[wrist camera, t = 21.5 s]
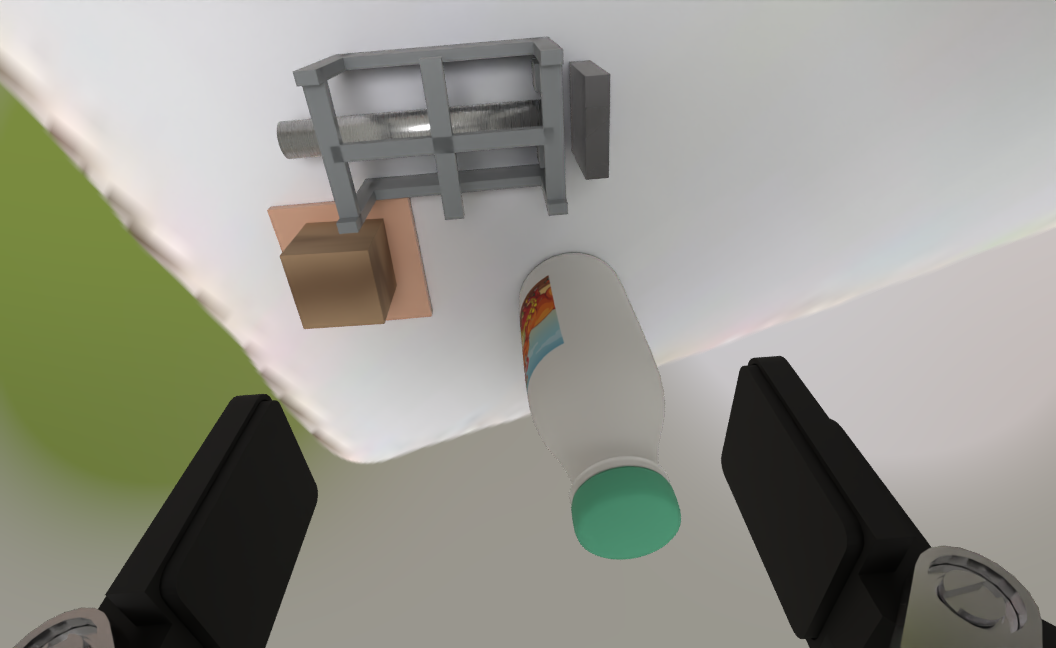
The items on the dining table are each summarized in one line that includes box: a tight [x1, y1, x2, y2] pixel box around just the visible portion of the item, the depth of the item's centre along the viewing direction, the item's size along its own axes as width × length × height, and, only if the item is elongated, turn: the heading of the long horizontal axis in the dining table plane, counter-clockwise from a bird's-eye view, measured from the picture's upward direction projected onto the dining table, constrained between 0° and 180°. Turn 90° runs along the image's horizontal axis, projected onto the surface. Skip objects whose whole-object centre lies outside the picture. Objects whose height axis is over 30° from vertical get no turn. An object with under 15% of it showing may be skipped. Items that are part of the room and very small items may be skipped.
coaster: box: [267, 197, 432, 320], centre depth 36 cm, size 9×9×1 cm
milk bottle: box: [519, 253, 681, 559], centre depth 30 cm, size 8×8×20 cm
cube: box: [280, 218, 397, 329], centre depth 33 cm, size 5×5×5 cm
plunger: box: [277, 60, 610, 180], centre depth 28 cm, size 18×5×6 cm, turn 94°
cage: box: [293, 37, 568, 234], centre depth 28 cm, size 12×8×8 cm, turn 94°
